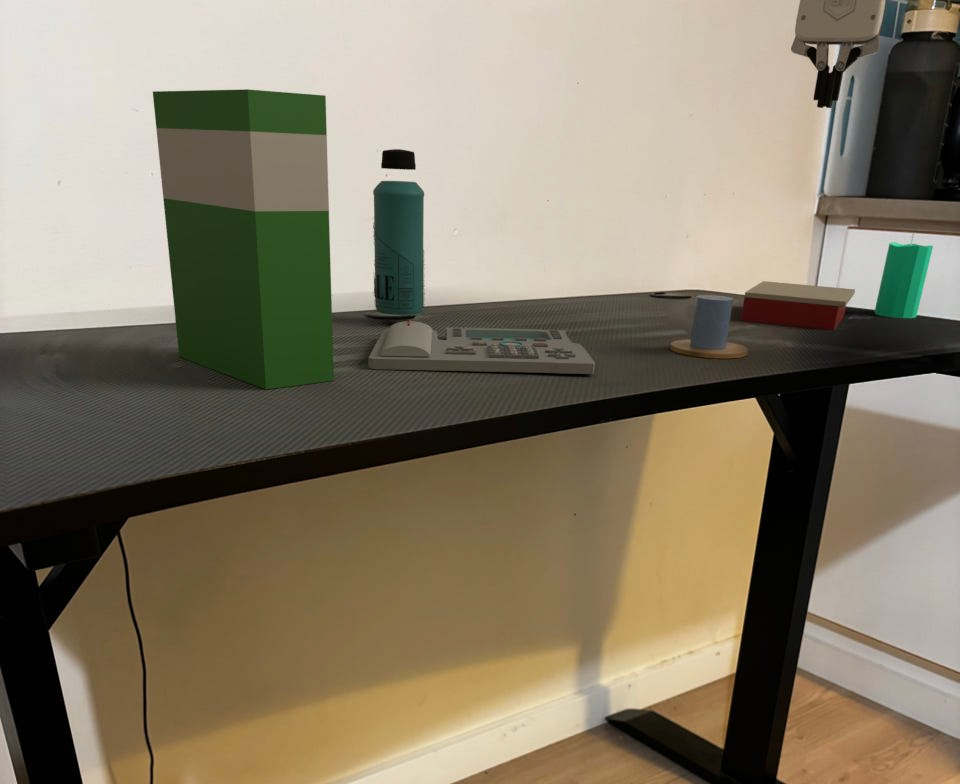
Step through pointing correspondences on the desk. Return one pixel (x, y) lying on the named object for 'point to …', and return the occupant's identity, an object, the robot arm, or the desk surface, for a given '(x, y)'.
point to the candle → (903, 280)
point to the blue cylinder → (711, 321)
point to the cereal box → (249, 232)
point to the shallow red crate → (792, 313)
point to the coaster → (709, 350)
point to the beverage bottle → (398, 240)
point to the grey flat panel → (801, 293)
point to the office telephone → (479, 350)
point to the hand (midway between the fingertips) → (824, 107)
